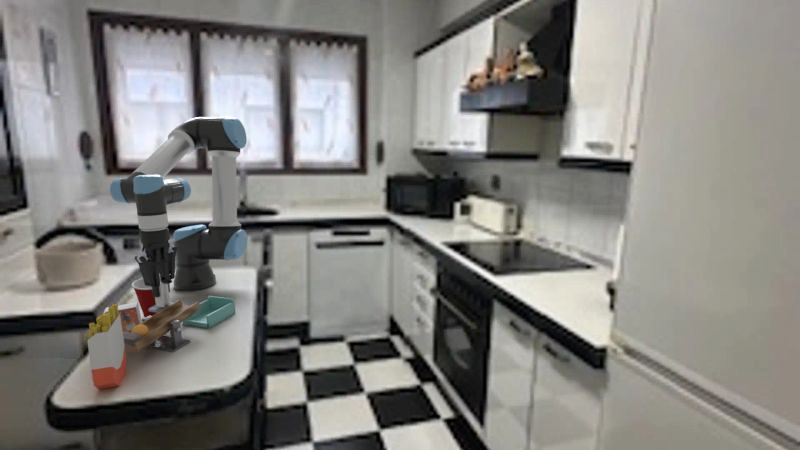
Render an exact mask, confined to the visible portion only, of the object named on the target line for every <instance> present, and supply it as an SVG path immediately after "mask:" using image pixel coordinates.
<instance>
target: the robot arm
mask: <svg viewBox="0 0 800 450" xmlns="http://www.w3.org/2000/svg"><path fill="white" fill-rule="evenodd" d="M246 146H247V133H246V129H245V126H244V125H243V122H242V121H241V120H240V119H239V118H237V117H235V116H234V117H233V116H198V117H194V118H190V119H188V120H186V121H184V122H182V123H181V124H179V125H178V126H175V128H174V129H173V130H171V132H170V133H168V136H167V139H166V141H164V143H162V144H161V145H160V146H159V147H158V148H157V149H156V150H155V151H154V152H153V153H152V154H151V155H150V156H148V158H146V159H145V161H143V162H142V163H141V164H140V165H139V166H138V167H137V168H136V169H135V170H134V171H133V172H132V173H131V174H130V175H129V176H127V178H124V177H121V178H116V179H114V180H113V181H111V183H110V185H109V194H110V196H111V197H112V199H113V200H114V201H115V202H117V203H123V204H124V203H125V204H135V206H136V211H137V212H136V216H137V224H138V228H139V232H138V233H139V239H140V243H141V244H142V248H141V253H139V255H135V257H134V260H135V261H136V262H137V264H138V268H139V270H140V273H141V276H142V278H143V280H144V283H145V286H151V287H152V291H153V296H154V297H155V302H156V306H157V307H165V305H170V302H171V300H170V292H171V288H170V284H172V283H173V288H174V289H175V290H177V291H181V292H182V291H184V292H185V291H187V292H189V291H190V292H191V291H199V290H203V289H206V288H209V287H212V286H214V285H216V283H217V277H216V275H215V273H214V270H213V267H212V266H211V263H210V260H213V261H215V260H216V261H217V260H218V261H236V260H239V259H241V258H242V257H243V256H244V254H245V252H246V250H247V247H248V239H249V238H248V235H247V232H246V230H244V229H242V224H241V223H240V222H239V221H238V207H237V206H238V204H237V203H238V200H237V199H238V196H237V194H238V193H237V192H238V191H237V185H238V183H237V158H238V157H239V156H240V155H241V149H245V147H246ZM199 149H206V150H207V153H208V154H209V155H210V156H211V182H212V183H211V187H212V188H211V191H212V194H211V195H212V196H211V197H212V220H211V222H210V223H209V224H208V228H207V225H206V224H196V225H189V226H185V227H181V228H178V229H176V230H174V232H173V235H172V237H173V246H172V245H171V244H170V242H169V240H170V238H171V237H170V228H168V227H169V219H168V211H167V205H172V204H176V203H182V202H183V201H187V199H189V198H190V196H191V193H192V188H191V184H190V183H189V182H188V181H187V180H186V179H184V178H182V177H171V178H165V177H166V176H167V175H168V174H169V173H170V172H171V171H172V170H173V169H174V167H176V165H177V164H178V163H179V162H180V161H181V160H183V158H184V157H185V156H186V155H190V154H191V153H193V152H194V151H195V150H199ZM160 279H161V282H162V283H160ZM169 283H170V284H169Z"/></svg>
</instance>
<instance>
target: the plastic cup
mask: <svg viewBox="0 0 800 450" xmlns="http://www.w3.org/2000/svg"><path fill="white" fill-rule="evenodd" d="M160 283H162V282H161V279H160ZM170 284H171V283H169V285H170ZM131 287H132V288H133V289H134V292H135V295H136V297H137V300H138V301H137V302H138V304H139V308H140V310H141V311H142V314H143V318H145V317H147V316H153V315H155V314H156V312H150V311H149V310H148V309H149V308H151V307H152V306H154V305H156V302H155V297H154V296H153V291H152V287H151V286H145V283H144V280H143V277H142V278H138V279H136V280H134V281H133V282H132V283H131Z"/></svg>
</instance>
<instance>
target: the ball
mask: <svg viewBox="0 0 800 450" xmlns="http://www.w3.org/2000/svg"><path fill="white" fill-rule="evenodd" d="M131 333H136V334H141V335H142V338H143V337H144V336H146V335H147V334H148V333H149V329H148V327H147V326H146V325H143V324H139V325H136V326H135V327H133V329H132V331H131Z"/></svg>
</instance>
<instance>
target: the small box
mask: <svg viewBox="0 0 800 450" xmlns="http://www.w3.org/2000/svg"><path fill="white" fill-rule="evenodd" d="M109 307H110V306H108V307H105V309H104V311H103V313H102V314H104V313H105V312H107V311H109V309H108V308H109ZM140 310H141V309H140V304H139V301H133V302H130V303H125V304H118V313H120V317H121V324H122V331H123V332H124V331H125V332H128V331H129V330H131V329H132V328H133V327H135V326H136V325H139V324H140V323H142V317H141V311H140Z"/></svg>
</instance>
